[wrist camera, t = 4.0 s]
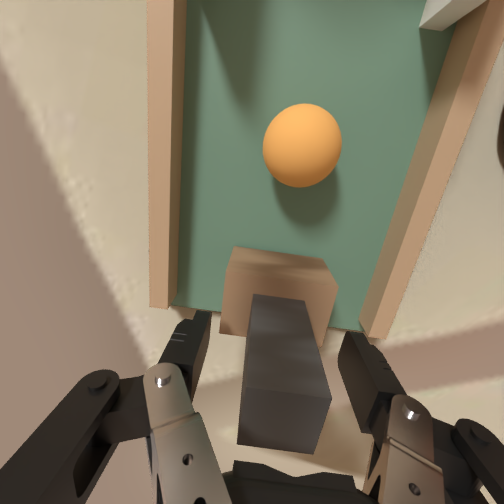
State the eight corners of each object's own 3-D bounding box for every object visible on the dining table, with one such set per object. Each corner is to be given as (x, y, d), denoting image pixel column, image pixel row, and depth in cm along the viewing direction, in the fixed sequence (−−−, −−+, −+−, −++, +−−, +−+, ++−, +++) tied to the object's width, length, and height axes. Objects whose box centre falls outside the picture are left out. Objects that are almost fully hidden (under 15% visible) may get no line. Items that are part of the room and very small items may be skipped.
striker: (322, 258, 17) (391, 379, 8) (309, 308, 19) (356, 462, 9) (233, 246, 17) (199, 353, 8) (227, 297, 19) (192, 440, 9)
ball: (338, 115, 15) (364, 102, 11) (322, 187, 16) (339, 197, 12) (268, 105, 15) (269, 88, 11) (258, 178, 16) (256, 185, 12)
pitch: (535, -166, 11) (803, -480, 6) (365, 324, 21) (403, 388, 15) (173, -223, 11) (83, -602, 6) (165, 296, 20) (128, 350, 15)
